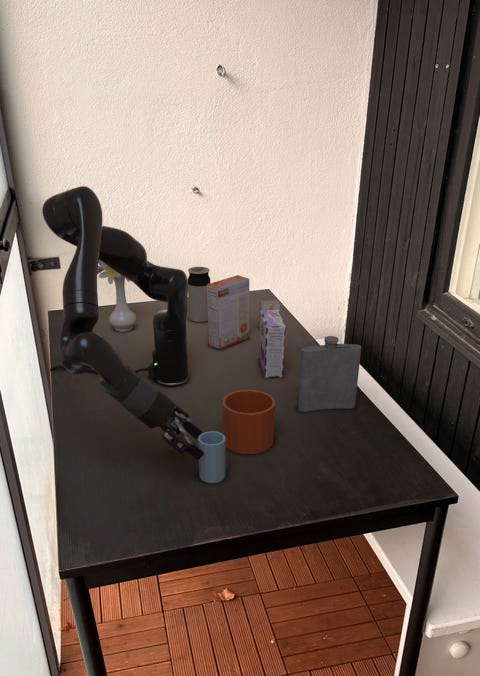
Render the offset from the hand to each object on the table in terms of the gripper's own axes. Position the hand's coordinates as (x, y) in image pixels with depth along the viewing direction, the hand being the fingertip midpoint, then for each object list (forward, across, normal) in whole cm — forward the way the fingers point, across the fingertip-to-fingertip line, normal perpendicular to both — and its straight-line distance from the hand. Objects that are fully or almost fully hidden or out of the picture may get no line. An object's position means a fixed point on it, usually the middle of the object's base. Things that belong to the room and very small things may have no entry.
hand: (200, 446), depth 143 cm
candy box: (+22, -56, +10) cm, 61 cm away
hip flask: (+30, -31, +19) cm, 47 cm away
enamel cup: (+8, 0, -4) cm, 8 cm away
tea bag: (+24, -89, +13) cm, 93 cm away
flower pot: (+14, -15, +3) cm, 21 cm away
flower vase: (-11, -92, -22) cm, 96 cm away
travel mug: (+7, -100, -4) cm, 100 cm away
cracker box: (+14, -78, +2) cm, 79 cm away
